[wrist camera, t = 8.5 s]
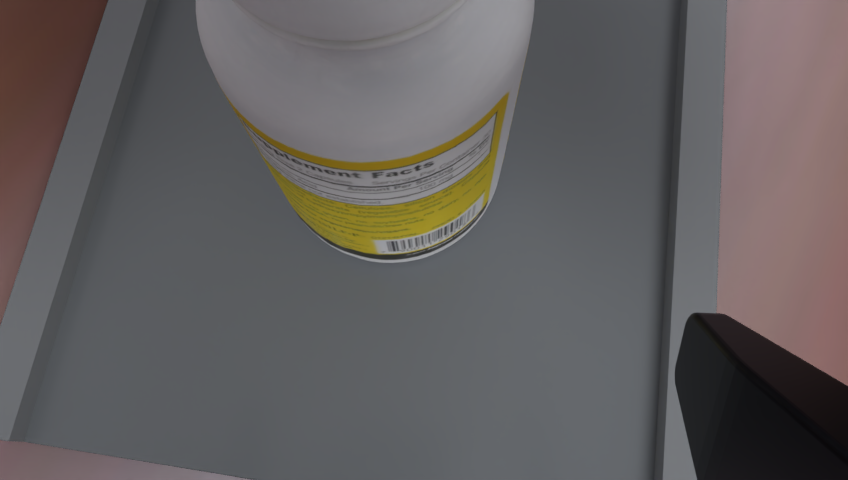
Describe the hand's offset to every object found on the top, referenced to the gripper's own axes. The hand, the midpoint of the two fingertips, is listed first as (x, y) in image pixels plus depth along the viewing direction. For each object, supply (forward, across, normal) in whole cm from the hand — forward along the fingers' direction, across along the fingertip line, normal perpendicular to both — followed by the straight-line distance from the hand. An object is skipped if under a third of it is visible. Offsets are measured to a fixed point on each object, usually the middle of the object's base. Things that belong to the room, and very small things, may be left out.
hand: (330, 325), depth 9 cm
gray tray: (+10, 0, +2) cm, 10 cm away
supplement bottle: (+9, 0, +1) cm, 9 cm away
